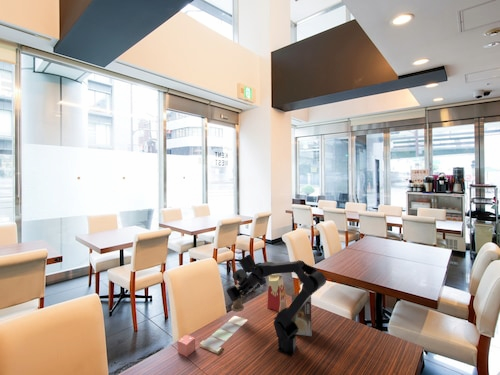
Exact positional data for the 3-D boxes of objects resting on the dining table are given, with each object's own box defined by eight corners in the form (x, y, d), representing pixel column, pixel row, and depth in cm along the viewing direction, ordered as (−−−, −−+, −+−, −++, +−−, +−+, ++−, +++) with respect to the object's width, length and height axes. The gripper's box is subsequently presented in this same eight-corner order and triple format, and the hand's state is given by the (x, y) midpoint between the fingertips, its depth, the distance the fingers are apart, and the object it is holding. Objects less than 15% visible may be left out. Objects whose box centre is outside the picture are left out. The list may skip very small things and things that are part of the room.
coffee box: (311, 328, 122) (311, 295, 121) (311, 336, 116) (311, 302, 115) (292, 326, 124) (292, 293, 123) (291, 334, 118) (291, 299, 117)
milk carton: (287, 307, 142) (287, 271, 141) (279, 314, 134) (279, 277, 134) (272, 302, 147) (272, 268, 146) (264, 309, 139) (264, 273, 138)
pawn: (246, 307, 127) (245, 285, 127) (239, 312, 122) (239, 290, 122) (235, 304, 130) (235, 283, 130) (229, 309, 125) (228, 287, 125)
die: (195, 349, 108) (195, 337, 107) (186, 356, 103) (186, 344, 103) (186, 345, 110) (186, 334, 110) (177, 352, 106) (177, 340, 106)
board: (250, 322, 127) (250, 320, 127) (217, 354, 105) (217, 351, 105) (233, 317, 132) (233, 314, 132) (199, 346, 110) (199, 343, 110)
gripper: (255, 260, 130) (240, 276, 138) (229, 271, 116) (213, 288, 124) (268, 280, 125) (251, 295, 133) (241, 293, 111) (224, 309, 119)
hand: (235, 296), depth 127 cm, fingers closed on pawn, 5 cm apart
